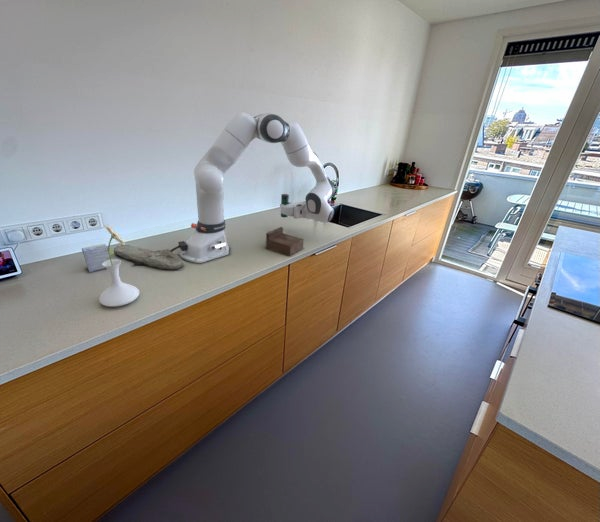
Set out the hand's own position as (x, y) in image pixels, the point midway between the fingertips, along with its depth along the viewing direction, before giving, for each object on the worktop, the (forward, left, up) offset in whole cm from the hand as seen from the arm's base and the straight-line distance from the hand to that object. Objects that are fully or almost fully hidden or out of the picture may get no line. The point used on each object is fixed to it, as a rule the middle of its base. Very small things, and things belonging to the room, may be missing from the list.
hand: (283, 204), depth 158 cm
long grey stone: (-68, +21, -15) cm, 73 cm away
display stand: (-20, -16, -15) cm, 30 cm away
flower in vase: (-90, +2, -15) cm, 92 cm away
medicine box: (-83, +29, -15) cm, 90 cm away
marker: (0, -1, -7) cm, 7 cm away
